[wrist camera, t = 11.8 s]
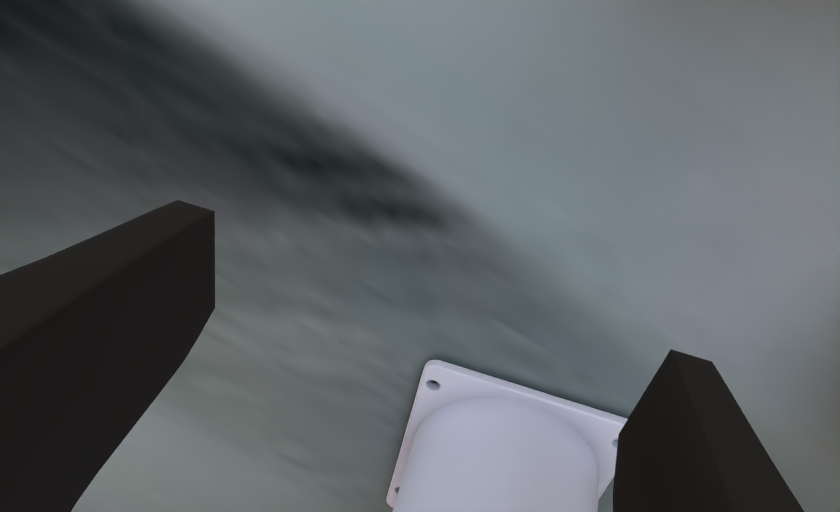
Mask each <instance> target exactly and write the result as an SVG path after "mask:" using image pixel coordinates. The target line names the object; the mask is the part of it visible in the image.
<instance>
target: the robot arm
mask: <svg viewBox="0 0 840 512" xmlns="http://www.w3.org/2000/svg"><path fill="white" fill-rule="evenodd" d="M214 308H215V225H214V211H212V210H209V209H205V208H202V207H199V206H195V205H192V204H189V203H186V202H182V201H179V200H177V201H175V202H172V203H170V204H167V205H165V206H162V207H160V208H157V209H155V210H153V211H151V212H148V213H146V214H144V215H141V216H139V217H137V218H135V219H132V220H130V221H128V222H126V223H123V224H121V225H119V226H117V227H114V228H112V229H110V230H108V231H106V232H103V233H101V234H99V235H96V236H94V237H92V238H90V239H87V240H85V241H83V242H80V243H78V244H76V245H73V246H71V247H69V248H66V249H64V250H62V251H60V252H57V253H55V254H53V255H50V256H48V257H46V258H43V259H41V260H38V261H35V262H33V263H30V264H28V265H25V266H23V267H20V268H17V269H15V270H12V271H10V272H7V273H5V274H2V275H0V512H71V510H72V509H73V507H74V506H75V504H76V502H77V501H78V499H79V498H80V497H81V495H82V494H83V492H84V491H85V490H86V488H87V487H88V485H89V484H90V483H91V481H92V480H93V478H94V477H95V476H96V474H97V473H98V471H99V470H100V469H101V468H102V466H103V465H104V464H105V462H106V461H107V460H108V459H109V457H110V456H111V455H112V453H113V452H114V451H115V450H116V448H117V447H118V446H119V444H120V443H121V442H122V441H123V439H124V438H125V437H126V435H127V434H128V433H129V432H130V430H131V429H132V428H133V426H134V425H135V424H136V423H137V421H138V420H139V419H140V417H141V416H142V415H143V414H144V412H145V411H146V410H147V408H148V407H149V406H150V405H151V403H152V402H153V401H154V399H155V398H156V397H157V395H158V394H159V393H160V392H161V390H162V389H163V388H164V386H165V385H166V384H167V382H168V381H169V380H170V378H171V377H172V376H173V375H174V373H175V372H176V371H177V369H178V368H179V367H180V365H181V364H182V363H183V361H184V360H185V358H186V357H187V355H188V353H189V352H190V350H191V348H192V347H193V345H194V343H195V342H196V340H197V338H198V337H199V335H200V333H201V331H202V330H203V328H204V326H205V324H206V322H207V321H208V319H209V317H210V315H211V314H212V312H213V310H214ZM430 380H433V381H436V382H438V383H435V382H432V381H430ZM617 439H618V440H617ZM613 477H614V489H613V512H804V511H803V509H802V508H801V506H800V505H799V503H798V501H797V500H796V498H795V497H794V495H793V494H792V492H791V491H790V489H789V487H788V486H787V484H786V483H785V481H784V479H783V478H782V476H781V475H780V473H779V471H778V470H777V468H776V467H775V465H774V463H773V462H772V460H771V459H770V457H769V455H768V454H767V452H766V450H765V449H764V447H763V446H762V444H761V442H760V441H759V439H758V437H757V436H756V434H755V432H754V430H753V429H752V427H751V425H750V424H749V422H748V420H747V419H746V417H745V415H744V414H743V412H742V410H741V409H740V407H739V405H738V404H737V402H736V400H735V399H734V397H733V395H732V394H731V392H730V390H729V389H728V387H727V385H726V384H725V382H724V380H723V379H722V377H721V375H720V374H719V372H718V371H717V369H716V367H715V366H714V364H713V363H712V362H711V361H707V360H704V359H701V358H698V357H694V356H691V355H688V354H684V353H681V352H678V351H674V350H670V352H669V353H668V355H667V357H666V358H665V360H664V361H663V363H662V365H661V366H660V368H659V370H658V371H657V373H656V374H655V376H654V378H653V379H652V381H651V382H650V384H649V386H648V387H647V389H646V391H645V392H644V394H643V395H642V397H641V399H640V400H639V402H638V404H637V405H636V407H635V408H634V410H633V412H632V413H631V415H630V416H629V418H628V419H627V418H624V417H620V416H617V415H614V414H611V413H608V412H604V411H601V410H598V409H595V408H592V407H588V406H585V405H582V404H579V403H576V402H572V401H569V400H566V399H563V398H560V397H556V396H553V395H550V394H547V393H544V392H540V391H537V390H534V389H531V388H527V387H524V386H521V385H518V384H515V383H511V382H508V381H505V380H502V379H499V378H495V377H492V376H489V375H486V374H483V373H479V372H476V371H473V370H470V369H467V368H463V367H460V366H457V365H454V364H451V363H447V362H444V361H441V360H430V361H428V362H427V363H426V364H425V366H424V369H423V373H422V376H421V380H420V383H419V387H418V390H417V394H416V397H415V401H414V404H413V407H412V411H411V414H410V418H409V421H408V425H407V428H406V432H405V435H404V439H403V442H402V446H401V449H400V453H399V456H398V460H397V463H396V467H395V470H394V474H393V477H392V481H391V484H390V488H389V491H388V494H387V498H386V502H387V503H388V505H389V506H391V507H392V508H393V511H392V512H598V500H599V499H600V497H601V496H602V494H603V493H604V491H605V490H606V488H607V486H608V485H609V483H610V482H611V480H612V479H613Z"/></svg>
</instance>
